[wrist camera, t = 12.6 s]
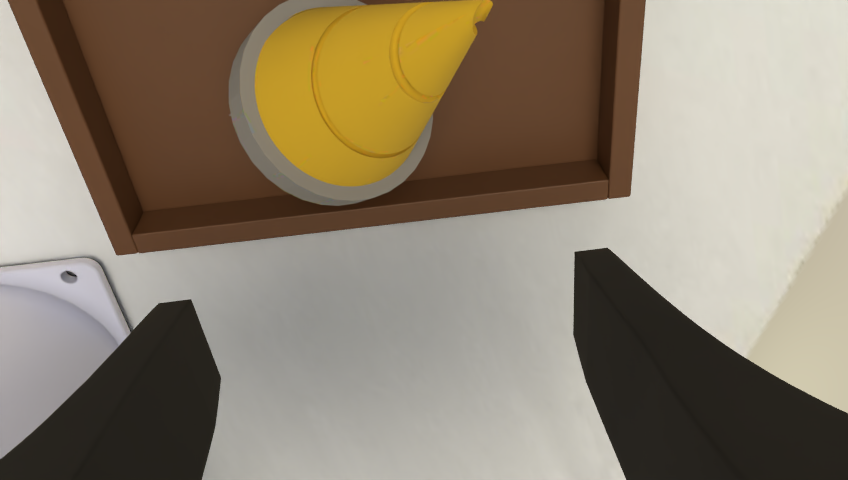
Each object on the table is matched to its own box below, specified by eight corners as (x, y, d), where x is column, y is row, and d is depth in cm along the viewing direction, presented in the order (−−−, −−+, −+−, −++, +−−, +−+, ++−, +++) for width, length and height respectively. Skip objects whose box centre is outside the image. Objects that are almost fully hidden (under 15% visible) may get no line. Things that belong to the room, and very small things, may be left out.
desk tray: (134, 221, 23) (116, 256, 21) (-16, -158, 17) (-58, -150, 15) (612, 166, 23) (630, 197, 21) (636, -236, 17) (664, -237, 15)
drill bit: (191, 35, 20) (337, -179, 11) (361, 49, 22) (582, -113, 14) (209, 223, 19) (371, 151, 11) (378, 214, 22) (613, 151, 14)
